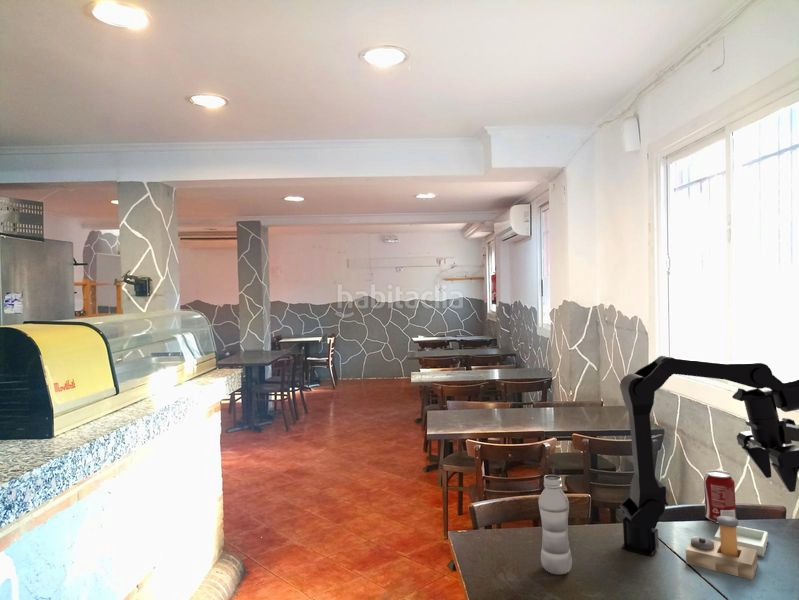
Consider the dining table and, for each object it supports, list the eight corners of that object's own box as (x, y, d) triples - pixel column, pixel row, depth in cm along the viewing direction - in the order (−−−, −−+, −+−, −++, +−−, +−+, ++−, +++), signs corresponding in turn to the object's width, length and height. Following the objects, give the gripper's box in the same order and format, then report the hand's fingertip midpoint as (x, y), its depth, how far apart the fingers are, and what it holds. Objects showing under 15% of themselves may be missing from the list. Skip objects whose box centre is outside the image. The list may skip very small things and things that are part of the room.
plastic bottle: (572, 565, 115) (568, 473, 115) (572, 581, 108) (567, 483, 108) (542, 561, 117) (538, 471, 117) (540, 577, 110) (535, 481, 111)
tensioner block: (686, 563, 113) (685, 542, 113) (694, 549, 119) (693, 529, 119) (752, 580, 106) (751, 558, 106) (757, 564, 112) (756, 543, 112)
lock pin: (718, 566, 111) (715, 520, 111) (721, 559, 114) (718, 514, 114) (739, 572, 109) (736, 524, 109) (741, 564, 112) (739, 518, 112)
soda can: (741, 526, 130) (738, 477, 130) (711, 525, 132) (708, 477, 132) (729, 515, 137) (727, 469, 137) (701, 514, 138) (699, 468, 138)
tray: (715, 545, 121) (714, 536, 121) (722, 531, 128) (721, 522, 128) (763, 556, 115) (763, 546, 115) (768, 541, 122) (767, 531, 122)
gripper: (828, 418, 108) (847, 493, 107) (777, 401, 126) (793, 465, 126) (771, 428, 110) (789, 502, 109) (728, 410, 128) (744, 473, 127)
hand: (780, 484), depth 118 cm, fingers open, 9 cm apart
